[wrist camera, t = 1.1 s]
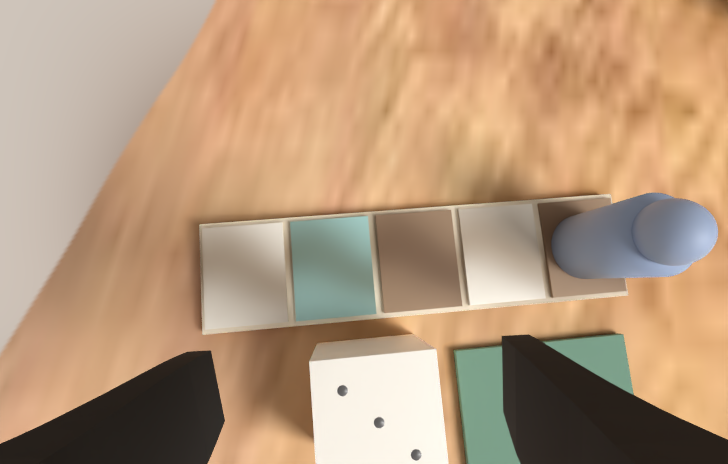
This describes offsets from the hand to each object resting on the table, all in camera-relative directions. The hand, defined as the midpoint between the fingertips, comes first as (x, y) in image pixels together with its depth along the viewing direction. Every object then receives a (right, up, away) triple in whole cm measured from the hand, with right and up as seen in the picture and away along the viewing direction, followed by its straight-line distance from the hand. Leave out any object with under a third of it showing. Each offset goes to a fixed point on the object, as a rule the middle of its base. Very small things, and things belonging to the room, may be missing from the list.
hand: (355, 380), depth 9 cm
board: (+3, +2, +11) cm, 12 cm away
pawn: (+12, +3, +11) cm, 16 cm away
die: (0, -4, +10) cm, 11 cm away
